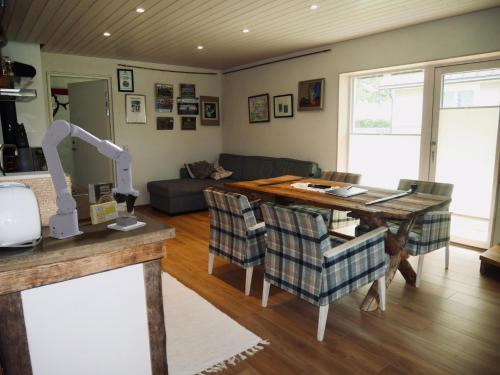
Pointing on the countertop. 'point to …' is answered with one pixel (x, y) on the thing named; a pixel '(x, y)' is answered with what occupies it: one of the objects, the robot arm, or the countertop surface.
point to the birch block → (124, 210)
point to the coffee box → (100, 193)
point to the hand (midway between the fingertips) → (126, 211)
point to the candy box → (104, 212)
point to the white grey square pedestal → (126, 223)
